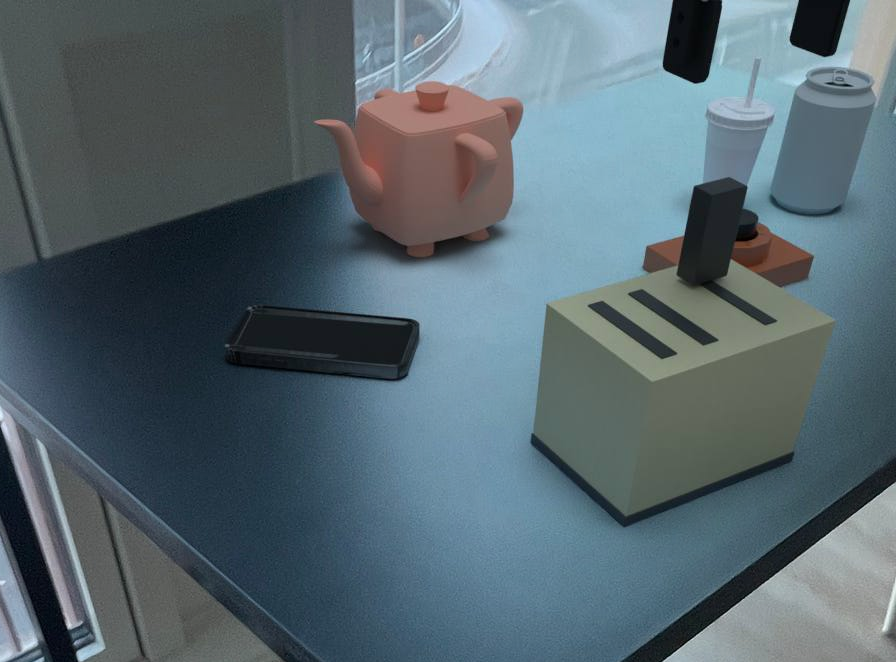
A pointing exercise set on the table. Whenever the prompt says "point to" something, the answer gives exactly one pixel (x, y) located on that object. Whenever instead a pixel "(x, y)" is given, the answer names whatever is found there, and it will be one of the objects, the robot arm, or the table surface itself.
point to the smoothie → (735, 134)
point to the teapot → (430, 163)
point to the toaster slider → (711, 230)
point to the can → (823, 139)
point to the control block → (745, 257)
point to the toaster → (675, 386)
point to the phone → (324, 341)
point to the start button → (747, 226)
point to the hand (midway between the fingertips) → (749, 63)
